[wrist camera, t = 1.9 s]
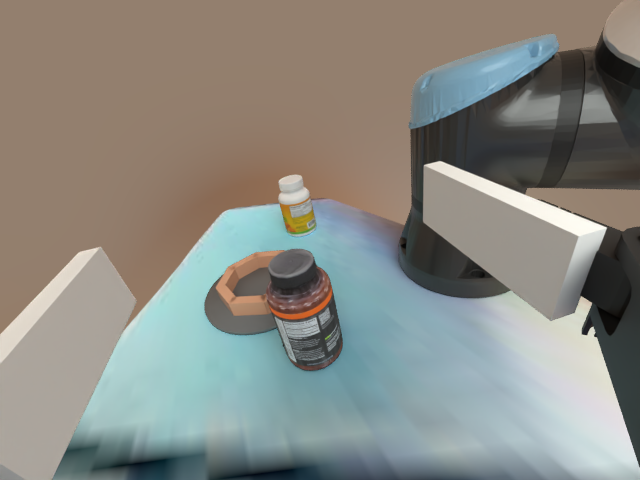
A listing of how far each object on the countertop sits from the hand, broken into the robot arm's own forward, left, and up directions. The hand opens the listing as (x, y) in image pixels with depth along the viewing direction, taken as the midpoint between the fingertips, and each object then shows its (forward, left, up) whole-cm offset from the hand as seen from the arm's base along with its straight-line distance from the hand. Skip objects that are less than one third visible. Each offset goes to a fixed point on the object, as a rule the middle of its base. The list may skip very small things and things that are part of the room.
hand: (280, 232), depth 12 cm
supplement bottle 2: (-4, -9, -19) cm, 22 cm away
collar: (-5, -22, -19) cm, 29 cm away
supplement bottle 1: (-18, -31, -19) cm, 41 cm away
